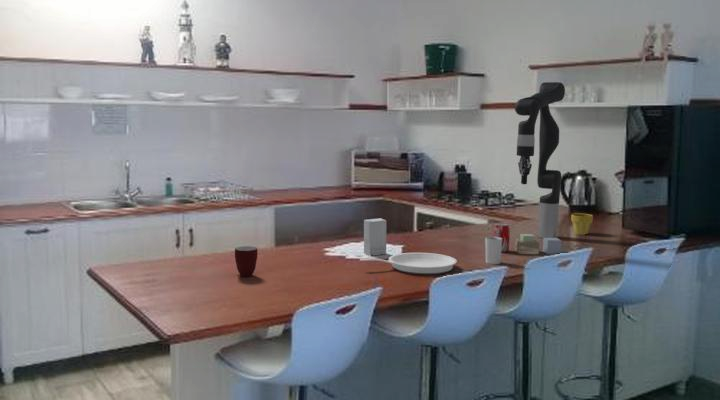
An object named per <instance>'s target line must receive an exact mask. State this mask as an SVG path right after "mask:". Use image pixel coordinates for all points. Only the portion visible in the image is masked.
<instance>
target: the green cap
mask: <svg viewBox="0 0 720 400" xmlns="http://www.w3.org/2000/svg"><path fill="white" fill-rule="evenodd" d="M519 239H520V241H522V242H535V240H536V235H534V234H532V233H520V234H519Z"/></svg>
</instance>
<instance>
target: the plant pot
mask: <svg viewBox="0 0 720 400" xmlns="http://www.w3.org/2000/svg"><path fill="white" fill-rule="evenodd" d="M593 218H594V216H593V214H590V213H589V214H588V213H581V212H580V213H578V212H577V213H572V214H571V217H570V219H571V222H572V228H573V233H574V234H575V235H579V236H581V235H582V236H585V234H587V235H588V234H589V231H590V227H591V225H592V223H593V222H594V221H593V220H594V219H593Z"/></svg>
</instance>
